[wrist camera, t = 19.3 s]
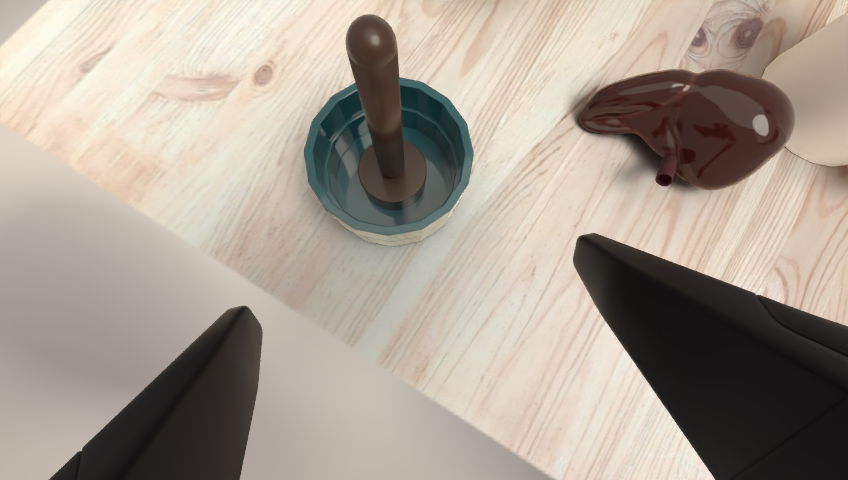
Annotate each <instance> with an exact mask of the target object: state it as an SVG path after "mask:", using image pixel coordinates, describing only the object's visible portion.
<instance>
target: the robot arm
mask: <svg viewBox="0 0 848 480" xmlns="http://www.w3.org/2000/svg"><path fill="white" fill-rule="evenodd" d="M573 263H574V266H575V268H576V270H577V272H578V274H579V276H580V278H581V279H582V281H583V283H584V285H585V287H586V289H587V290H588V292H589V294H590V296H591V298H592V300H593V301H594V303H595V305H596V307H597V309H598V310H599V312H600V313H601V315H602V317H603V318H604V320H605V321H606V322H607V324H608V325H609V327H610V328H611V330H612V331H613V333H614V334H615V335H616V337H617V338H618V340H619V341H620V343H621V344H622V346H623V347H624V348H625V350H626V351H627V353H628V354H629V356H630V357H631V359H632V360H633V361H634V363H635V364H636V366H637V367H638V369H639V370H640V372H641V373H642V374H643V376H644V377H645V379H646V380H647V382H648V383H649V385H650V386H651V387H652V389H653V390H654V392H655V393H656V395H657V396H658V398H659V399H660V400H661V402H662V403H663V405H664V406H665V408H666V409H667V410H668V412H669V413H670V415H671V416H672V418H673V419H674V421H675V422H676V423H677V425H678V426H679V428H680V429H681V431H682V432H683V434H684V435H685V436H686V438H687V439H688V441H689V442H690V444H691V445H692V447H693V448H694V449H695V451H696V452H697V454H698V455H699V457H700V458H701V460H702V461H703V462H704V464H705V465H706V467H707V468H708V470H709V471H710V473H711V474H712V475H713V477H714V478H715V480H848V326H845V325H842V324H839V323H836V322H833V321H830V320H827V319H824V318H821V317H818V316H815V315H812V314H809V313H807V312H804V311H801V310H798V309H796V308H793V307H790V306H787V305H785V304H782V303H779V302H777V301H774V300H771V299H769V298H766V297H763V296H761V295H756V294H755V293H753V292H750V291H747V290H745V289H742V288H739V287H737V286H734V285H731V284H729V283H726V282H723V281H721V280H718V279H715V278H713V277H710V276H707V275H705V274H702V273H699V272H697V271H694V270H691V269H689V268H686V267H684V266H681V265H678V264H676V263H673V262H670V261H668V260H665V259H662V258H660V257H657V256H654V255H652V254H649V253H646V252H644V251H641V250H638V249H636V248H633V247H630V246H628V245H625V244H622V243H620V242H617V241H614V240H612V239H609V238H606V237H604V236H601V235H598V234H596V233H591V234H586V235H581V236H579V237H578V239H577V242H576V247H575V252H574V256H573ZM261 345H262V327H261V325H260V323H259V322H258V320H257V319H256V317H255V316H254V314H253V313H252V311H251V310H250V309H249V308H248V307H247V306H239V307H235V308H231V309H228V310H227V311H226V312H225V313H224V314H223V315H222V316H220V317H219V318H218V319H217V320H216V321H215V322H214V323H213V324H212V325H211V326H210V327H209V328H208V329H207V330H206V331H205V332H204V333H203V334H202V335H201V336H199V337H198V339H196V340H195V341H194V342H193V343H192V344H191V345H190V346H189V347H188V348H187V349H186V350H185V351H184V352H183V353H182V354H181V355H180V356H179V357H177V358H176V359H175V361H173V362H172V363H171V364H170V365H169V366H168V367H167V368H166V369H165V370H164V371H163V372H162V373H161V374H160V375H159V376H158V377H157V378H155V380H153V381H152V382H151V383H150V384H149V385H148V386H147V387H146V388H145V389H144V390H143V391H142V392H141V393H140V394H139V395H138V396H137V397H135V399H133V401H131V402H130V403H129V404H128V405H127V406H126V407H125V408H124V409H123V410H122V411H121V412H120V413H119V414H118V415H117V416H115V418H113V419H112V420H111V421H110V422H109V423H108V424H107V425H106V426H105V427H104V428H103V429H102V430H101V431H100V432H99V433H98V434H97V435H95V436H94V437H93V438H92V439H91V440H90V441H89V442H88V443H87V444H86V445H85V446H84V447H83V449H82V451H79V452H78V453H76V454H75V455H74V456H73V457H72V458H71V459H70V460H69V461H68V462H67V463H66V464H65V465H64V466H63V467H62V468H61V469H60V470H59V471H58V472H57V473H55V474H54V475H53V476H52V477H51V478H50V479H49V480H240V475H241V470H242V465H243V459H244V455H245V450H246V445H247V440H248V435H249V430H250V425H251V420H252V415H253V410H254V405H255V400H256V395H257V388H258V380H259V368H260V357H261Z"/></svg>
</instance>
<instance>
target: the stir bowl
mask: <svg viewBox="0 0 848 480" xmlns="http://www.w3.org/2000/svg"><path fill="white" fill-rule="evenodd" d="M399 83H400V99H401V114H402V130H403V139H405V140H407V141H409V142H411V143H413V144H414V145H415V146H416V147H417V148H418V149H419V150H420V151H421V153H422V154H423V156H424V158H425V161H426V166H427V174H426V182H425V188H424V191H423V193H422V195H421V196H420V198H419V199H418V200H417V201H416V202H415V203H414V204H412V205H411V206H409V207H407V208H404V209H400V210H388V209H384V208H382V207H379V206H378V205H376V204H375V203H373V202H372V201H371V200H370V199H369V197H368V196H367V194H366V193H365V191H364V189H363V186H362V184H361V182H360V180H359V176H358V165H359V161H360V158H361V156H362V154H363V152H364V151H365V150H366V148H367V147H368V146H370V145H371V144H372V140H371V137H370V133H369V129H368V126H367V122H366V118H365V115H364V111H363V108H362V104H361V100H360V97H359V93H358V90H357V86H356V83H354V84H352V85H351V86H349V87H347V88H345V89H344V90H342V91H340V92H338V93H337V94H335V95H333V96H332V97H331V98H330V99H329V100H328V102H327V103H326V104H325V105H324V107H323V108H322V109H321V110H320V112H319V113H318V114H317V115H316V117H315V118H314V119H313V121H312V123H311V127H310V131H309V134H308V138H307V141H306V145H305V149H304V156H305V163H306V169H307V176H308V182H309V184H310V186H311V187H312V189H313V191H314V192H315V194H316V195H317V197H318V198H319V200H320V201H321V203H322V205H323V206H324V208H325V209H326V210H327V211H328V212H329V213H330V214H331V215H332V216H333V217H334V218H335V219H336V220H338V221H339V222H340V223H341V224H342V225H343V226H344V227H345V228H347V229H348V230H350V231H351V232H353V233H354V234H356V235H357V236H359V237H360V238H362V239H363V240H365V241H367V242H372V243H377V244H382V245H387V246H393V247H395V246H400V245H405V244H410V243H415V242H420V241H422V240H423V239H425V238H426V237H428V236H429V235H431V234H433V233H434V232H436V231H437V230H439V229H440V228H442V227H443V226H444V224H445V223H446V221H447V220H448V218H449V217H450V215H451V214H452V212H453V211H454V209H455V208H456V206H457V205H458V203H459V201H460V199H461V197H462V195H463V193H464V191H465V190H466V188H467V186H468V183H469V178H470V173H471V167H472V161H473V156H474V154H473V153H474V152H473V148H472V144H471V139H470V135H469V131H468V127H467V124H466V122H465V120H464V119H463V118H462V116H461V115H460V114H459V112H458V111H457V110H456V108H455V107H454V105H453V104H452V103H451V101H450V100H449V99H448V98H447V97H445V96H444V95H442V94H440V93H439V92H437V91H436V90H434V89H432V88H431V87H429V86H428V85H426V84H424V83H423V82H420V81H415V80H410V79H405V78H400V77H399Z"/></svg>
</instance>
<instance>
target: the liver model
mask: <svg viewBox="0 0 848 480" xmlns="http://www.w3.org/2000/svg"><path fill="white" fill-rule="evenodd" d="M579 122H580V124H581V125H582V126H583V127H584V128H585V129H587V130H589V131H592V132H595V133H600V134H626V133H635V134H637V135H639V136H640V137H641V138H642V139H643V140H644V141H645V142H646V143H647V144H648V145H649V147H650V148H651V149H652V150H653V151H654V152H655V153H656V154H658V155H659V156H661V157H662V162H661V165H660V167H659V170H658V173H657V176H656V182H657V183H658V184H659V185H661V186H668V185H670V184H671V183H672V182H673V178H674V174H676V175H678V176H679V177H680V178H682V179H683V180H685V181H686V182H688V183H690V184H691V185H693V186H695V187H697V188H700V189H704V190H718V189H723V188H726V187H730V186H733V185H735V184H738V183H740V182H741V181H743V180H745V179H746V178H748V177H750V176H751V175H753V174H754V173H755V172H757V171H758V170H759V169H760V168H761V167H762V166H763V165H765V164H766V163H767V162H768V161H769V160H770V159H771V158H773V157H774V156H775V155H776V154H777V153H778V152H780V151H781V150H782V149H783V148H784V146H785V145H786V144H787V142H788V141H789V139H790V137H791V135H792V133H793V130H794V126H795V112H794V108H793V105H792V103H791V101H790V99H789V97H788V96H787V95H786V94H785V92H784V91H783V90H781V89H780V88H779V87H778V86H776V85H775V84H773V83H771V82H770V81H767V80H765V79H762V78H759V77H755V76H751V75H747V74H743V73H739V72H735V71H731V70H725V69H714V70H708V71H705V72H701V73H694V72H691V71H689V70H683V69H669V70H663V71H657V72H651V73H646V74H641V75H637V76H633V77H629V78H626V79H623V80H619V81H617V82H614V83H611V84H609V85H607V86H605V87H603V88H601V89H600V90H598V91H597V92H595V93H594V94H593V95H592V96H591V97H590V98H589V99H588V100H587V101H586V103H585V104H584V106H583V108H582V110H581V112H580V115H579Z"/></svg>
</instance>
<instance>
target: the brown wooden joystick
mask: <svg viewBox="0 0 848 480" xmlns="http://www.w3.org/2000/svg"><path fill="white" fill-rule="evenodd" d="M346 49H347V53H348V57H349V61H350V64H351V68H352V71H353V75H354V79H355V82H356V86H357V90H358V93H359V97H360V100H361V104H362V108H363V111H364V115H365V118H366V122H367V126H368V129H369V133H370V137H371V140H372V144H371V145H370V146H368V147H367V148H366V150H365V151H364V152H363V154H362V156H361V158H360V161H359V165H358V176H359V180H360V182H361V184H362V186H363V189H364V191H365V193H366V194H367V196H368V197H369V199H370V200H371V201H372V202H373V203H375V204H376V205H378V206H379V207H382V208H384V209H388V210H400V209H404V208H407V207H409V206H411V205H412V204H414V203H415V202H416V201H417V200H418V199H419V198H420V196H421V195H422V193H423V191H424V188H425V182H426V174H427V166H426V161H425V158H424V156H423V154H422V153H421V151H420V150H419V149H418V148H417V147H416V146H415V145H414V144H413V143H411V142H409V141H407V140H405V139H403V130H402V114H401V99H400V83H399V67H398V52H397V41H396V37H395V34H394V32H393V30H392V28H391V27H390V25H389V24H388V23H387V22H386V21H385V20H384V19H382V18H380V17H378V16H376V15H363V16H360V17H358V18H357V19H356V20H354V21H353V22H352V24H351V25H350V27H349V29H348V31H347V35H346Z"/></svg>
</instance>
